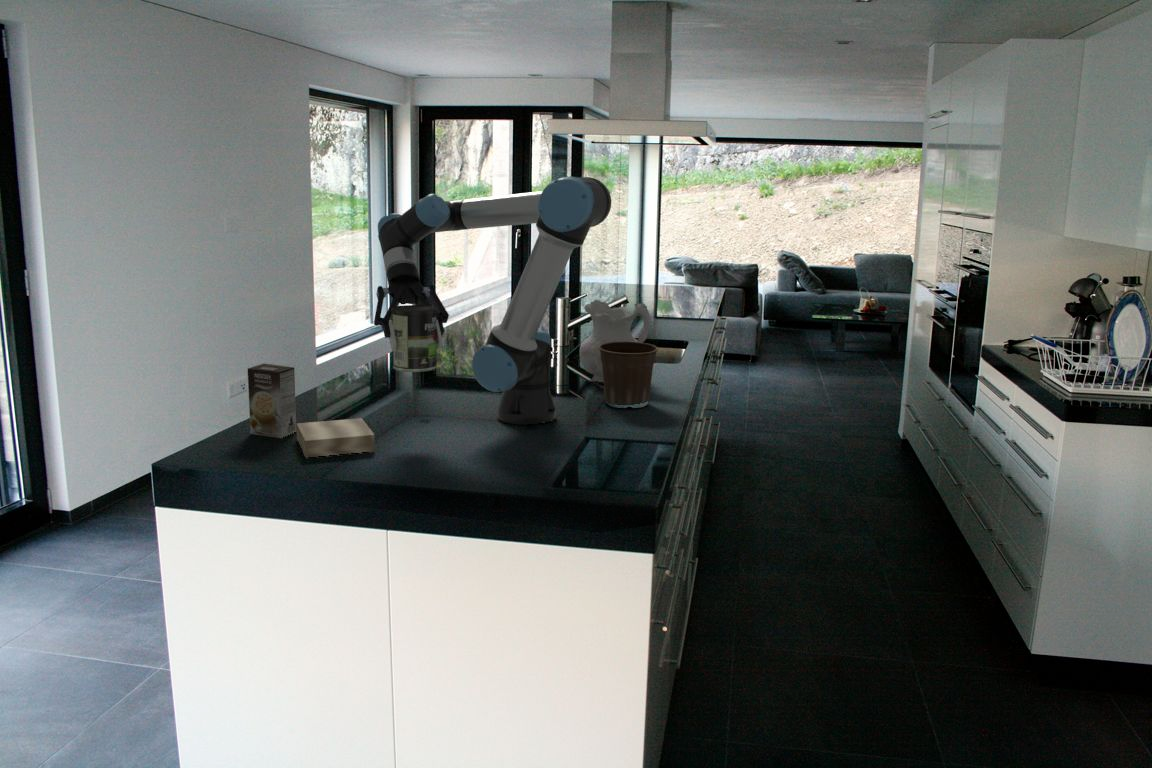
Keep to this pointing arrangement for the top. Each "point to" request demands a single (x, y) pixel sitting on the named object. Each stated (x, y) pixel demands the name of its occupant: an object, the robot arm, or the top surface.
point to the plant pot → (627, 371)
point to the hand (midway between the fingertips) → (417, 346)
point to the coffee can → (414, 338)
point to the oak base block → (335, 437)
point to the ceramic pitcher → (609, 332)
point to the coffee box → (272, 400)
